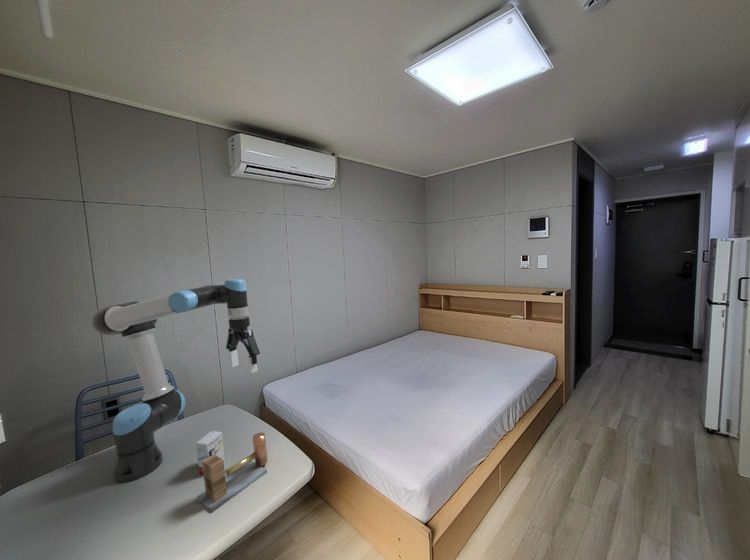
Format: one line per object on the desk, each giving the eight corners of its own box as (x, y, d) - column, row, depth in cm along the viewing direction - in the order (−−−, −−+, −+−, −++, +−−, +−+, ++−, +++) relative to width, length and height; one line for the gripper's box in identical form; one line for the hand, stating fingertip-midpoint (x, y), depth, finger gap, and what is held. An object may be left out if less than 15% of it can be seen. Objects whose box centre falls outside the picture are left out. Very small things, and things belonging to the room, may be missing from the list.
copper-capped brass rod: (224, 482, 105) (221, 454, 104) (263, 456, 117) (260, 431, 117) (231, 487, 102) (228, 458, 101) (270, 460, 115) (267, 434, 114)
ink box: (209, 474, 111) (206, 444, 110) (198, 473, 112) (195, 443, 111) (225, 458, 120) (222, 431, 119) (215, 457, 121) (211, 430, 120)
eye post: (197, 498, 100) (192, 462, 99) (251, 462, 116) (248, 431, 115) (212, 512, 94) (207, 473, 93) (267, 472, 111) (263, 439, 110)
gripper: (213, 317, 124) (219, 366, 126) (248, 322, 109) (253, 378, 111) (231, 313, 130) (236, 361, 132) (266, 317, 115) (271, 371, 117)
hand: (244, 369), depth 121 cm, fingers open, 13 cm apart
